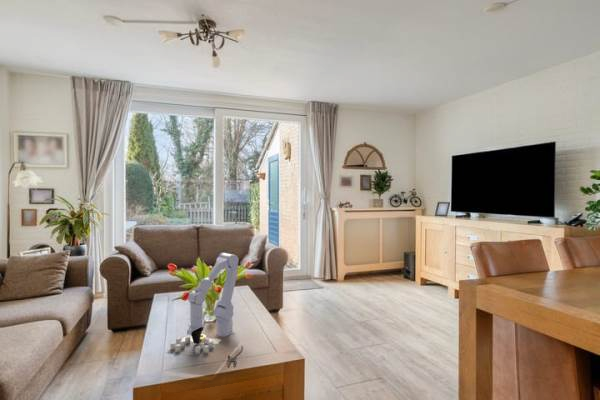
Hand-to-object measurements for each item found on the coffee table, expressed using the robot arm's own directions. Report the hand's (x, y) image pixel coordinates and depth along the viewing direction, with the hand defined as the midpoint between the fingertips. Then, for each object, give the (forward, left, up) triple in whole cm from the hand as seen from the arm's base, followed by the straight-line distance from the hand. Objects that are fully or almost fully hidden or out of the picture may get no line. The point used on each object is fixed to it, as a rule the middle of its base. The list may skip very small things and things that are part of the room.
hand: (196, 342), depth 161 cm
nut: (-5, 0, -1) cm, 5 cm away
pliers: (+4, +22, -3) cm, 23 cm away
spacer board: (+1, 0, -2) cm, 2 cm away
